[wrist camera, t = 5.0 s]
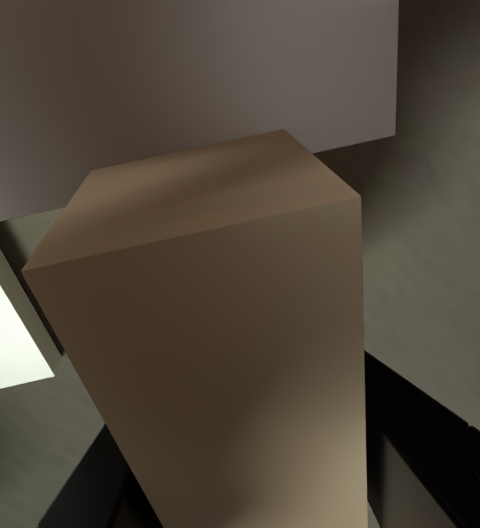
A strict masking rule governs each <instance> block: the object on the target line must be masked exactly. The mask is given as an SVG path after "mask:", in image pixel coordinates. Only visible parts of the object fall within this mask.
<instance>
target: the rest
mask: <svg viewBox="0 0 480 528" xmlns="http://www.w3.org/2000/svg"><path fill="white" fill-rule="evenodd" d="M61 359H62V356H61V355H60V353H59V351H58V349H57V348H56V346H55V344H54V342H53V341H52V339H51V337H50V335H49V334H48V332H47V330H46V328H45V326H44V325H43V323H42V321H41V319H40V318H39V316H38V314H37V312H36V311H35V309H34V307H33V305H32V304H31V302H30V300H29V298H28V297H27V295H26V293H25V291H24V290H23V288H22V286H21V284H20V283H19V281H18V279H17V277H16V276H15V274H14V272H13V270H12V269H11V267H10V265H9V263H8V262H7V260H6V258H5V256H4V254H3V253H2V251H1V249H0V388H5V387H9V386H14V385H18V384H22V383H27V382H31V381H36V380H40V379H44V378H49V377H53V376H55V375H56V372H57V369H58V367H59V364H60V361H61Z"/></svg>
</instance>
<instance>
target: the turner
mask: <svg viewBox="0 0 480 528" xmlns="http://www.w3.org/2000/svg"><path fill="white" fill-rule="evenodd" d="M398 15H399V0H0V221H4V220H9V219H13V218H18V217H22V216H27V215H32V214H36V213H41V212H45V211H50V210H55V209H59V208H64V207H65V209H64V210H63V211H62V213H61V214H60V216H59V217H58V219H57V220H56V221H55V223H54V224H53V226H52V227H51V229H50V230H49V231H48V233H47V234H46V236H45V237H44V239H43V240H42V241H41V243H40V244H39V246H38V247H37V249H36V250H35V251H34V253H33V254H32V256H31V257H30V259H29V260H28V261H27V263H26V264H25V266H24V267H23V268H22V270H21V273H22V275H23V277H24V278H25V280H26V282H27V284H28V286H29V287H30V289H31V291H32V293H33V295H34V296H35V298H36V300H37V302H38V303H39V305H40V307H41V309H42V311H43V312H44V314H45V316H46V318H47V320H48V321H49V323H50V325H51V327H52V329H53V330H54V332H55V334H56V336H57V338H58V339H59V341H60V343H61V345H62V346H63V348H64V350H65V352H66V354H67V355H68V357H69V359H70V361H71V363H72V364H73V366H74V368H75V370H76V372H77V373H78V375H79V377H80V379H81V380H82V382H83V384H84V386H85V388H86V389H87V391H88V393H89V395H90V397H91V398H92V400H93V402H94V404H95V406H96V407H97V409H98V411H99V413H100V415H101V416H102V418H103V420H104V422H105V423H106V425H107V427H108V429H109V431H110V432H111V434H112V436H113V438H114V440H115V441H116V443H117V445H118V447H119V449H120V450H121V452H122V454H123V456H124V458H125V459H126V461H127V463H128V465H129V466H130V468H131V470H132V472H133V474H134V475H135V477H136V479H137V481H138V483H139V484H140V486H141V488H142V490H143V492H144V493H145V495H146V497H147V499H148V500H149V502H150V504H151V506H152V508H153V509H154V511H155V513H156V515H157V517H158V518H159V520H160V522H161V524H162V526H163V527H164V528H368V523H367V471H366V420H365V368H364V316H363V265H362V213H361V196H360V195H359V194H358V193H357V192H356V191H355V190H353V189H352V188H351V187H350V186H349V185H348V184H347V183H345V182H344V181H343V180H342V179H341V178H340V177H339V176H337V175H336V174H335V173H334V172H333V171H332V170H330V169H329V168H328V167H327V166H326V165H325V164H324V163H322V162H321V161H320V160H319V159H318V158H317V157H315V156H314V155H313V154H312V153H317V152H321V151H326V150H330V149H335V148H340V147H344V146H349V145H353V144H358V143H362V142H367V141H372V140H376V139H381V138H385V137H390V136H395V128H396V90H397V52H398Z"/></svg>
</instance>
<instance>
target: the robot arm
mask: <svg viewBox="0 0 480 528" xmlns="http://www.w3.org/2000/svg"><path fill="white" fill-rule="evenodd" d="M364 368H365V420H366V471H367V500H368V502H369V504H370V506H371V508H372V510H373V513H374V515H375V517H376V519H377V521H378V523H379V526H380V528H480V431H479V430H478V429H476V428H475V427H473V426H469V425H468V423H467V422H466V421H465V420H463V419H462V418H460V417H459V416H458V415H456V414H455V413H453V412H452V411H450V410H449V409H448V408H446V407H445V406H443V405H442V404H440V403H439V402H438V401H436V400H435V399H433V398H432V397H430V396H429V395H428V394H426V393H425V392H423V391H422V390H421V389H419V388H418V387H416V386H415V385H413V384H412V383H411V382H409V381H408V380H406V379H405V378H403V377H402V376H401V375H399V374H398V373H396V372H395V371H393V370H392V369H391V368H389V367H388V366H386V365H385V364H384V363H382V362H381V361H379V360H378V359H376V358H375V357H374V356H372V355H371V354H369V353H368V352H366V351H365V350H364ZM38 527H39V528H164V527H163V526H162V524H161V522H160V520H159V518H158V517H157V515H156V513H155V511H154V509H153V508H152V506H151V504H150V502H149V500H148V499H147V497H146V495H145V493H144V492H143V490H142V488H141V486H140V484H139V483H138V481H137V479H136V477H135V475H134V474H133V472H132V470H131V468H130V466H129V465H128V463H127V461H126V459H125V458H124V456H123V454H122V452H121V450H120V449H119V447H118V445H117V443H116V441H115V440H114V438H113V436H112V434H111V432H110V431H109V429H108V427H107V425H106V423H104V425H103V426H102V428H101V429H100V431H99V432H98V434H97V435H96V437H95V438H94V440H93V441H92V443H91V444H90V446H89V447H88V449H87V450H86V452H85V453H84V455H83V456H82V458H81V459H80V461H79V462H78V464H77V465H76V467H75V468H74V470H73V471H72V473H71V475H70V476H69V478H68V479H67V481H66V482H65V484H64V485H63V487H62V488H61V490H60V491H59V493H58V494H57V496H56V497H55V499H54V500H53V502H52V503H51V505H50V506H49V508H48V509H47V511H46V512H45V514H44V515H43V517H42V518H41V520H40V521H39V523H38ZM38 527H37V528H38Z"/></svg>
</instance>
